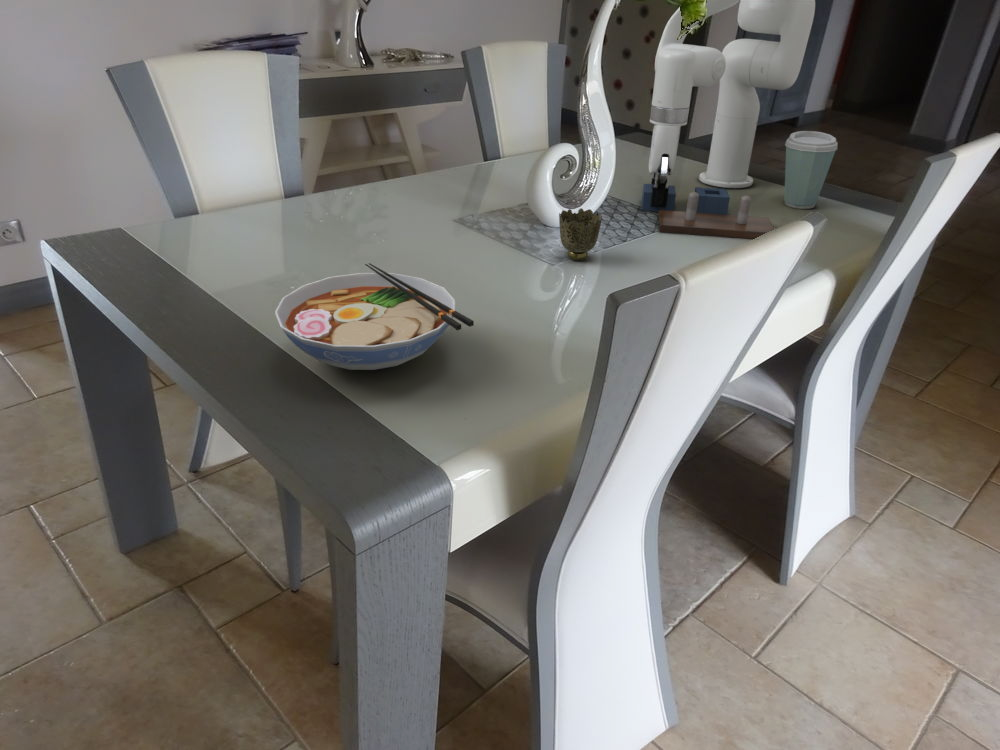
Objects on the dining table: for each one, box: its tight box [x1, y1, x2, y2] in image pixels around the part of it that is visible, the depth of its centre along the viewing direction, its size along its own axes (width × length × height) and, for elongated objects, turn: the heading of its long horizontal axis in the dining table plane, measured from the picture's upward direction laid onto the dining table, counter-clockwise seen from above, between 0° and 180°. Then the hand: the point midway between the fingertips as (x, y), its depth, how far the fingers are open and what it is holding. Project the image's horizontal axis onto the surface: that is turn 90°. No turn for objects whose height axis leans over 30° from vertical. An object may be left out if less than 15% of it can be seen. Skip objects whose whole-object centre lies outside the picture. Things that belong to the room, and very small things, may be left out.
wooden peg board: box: [657, 191, 775, 240], centre depth 147 cm, size 10×22×7 cm, turn 81°
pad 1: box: [641, 183, 677, 213], centre depth 160 cm, size 7×7×4 cm
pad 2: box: [694, 186, 731, 215], centre depth 158 cm, size 7×7×4 cm
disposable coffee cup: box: [783, 130, 839, 210], centre depth 161 cm, size 11×11×15 cm
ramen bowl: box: [274, 262, 475, 371], centre depth 97 cm, size 25×23×8 cm
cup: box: [558, 207, 603, 262], centre depth 130 cm, size 8×7×8 cm
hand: (657, 201), depth 160 cm, fingers closed on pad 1, 6 cm apart
